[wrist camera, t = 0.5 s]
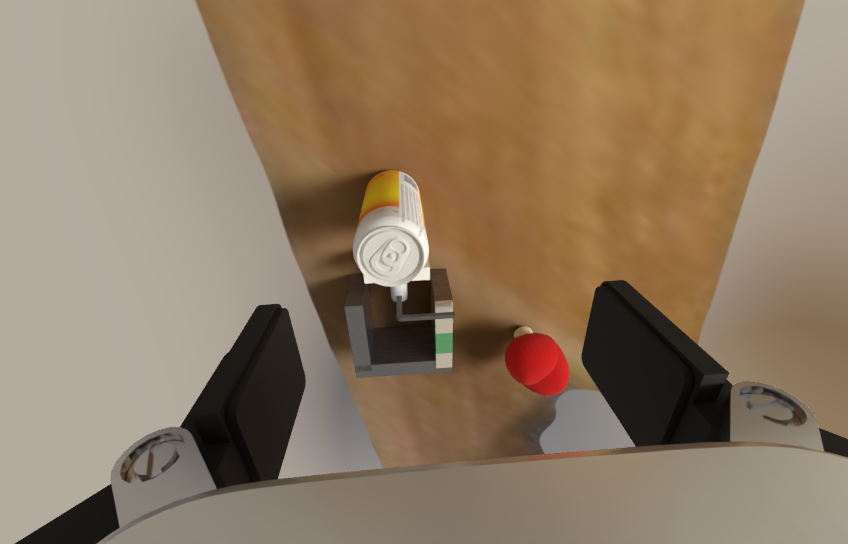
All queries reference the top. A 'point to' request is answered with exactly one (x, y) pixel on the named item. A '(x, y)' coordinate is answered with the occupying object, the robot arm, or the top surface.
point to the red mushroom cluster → (537, 362)
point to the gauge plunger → (401, 295)
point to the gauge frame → (399, 334)
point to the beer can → (391, 231)
